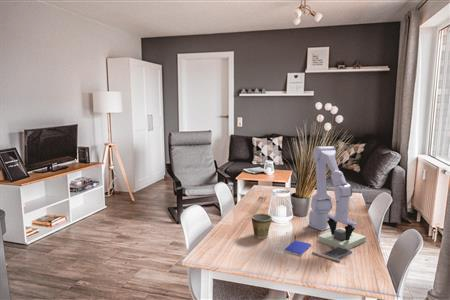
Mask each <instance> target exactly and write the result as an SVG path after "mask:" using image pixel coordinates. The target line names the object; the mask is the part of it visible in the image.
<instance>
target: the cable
mask: <svg viewBox="0 0 450 300" xmlns="http://www.w3.org/2000/svg"><path fill="white" fill-rule="evenodd" d="M311 253H312V254H313V255H316V256H319V257H322V258H325V259H329V260H333V261H334V262H336V263H341V258H340V259H337V258H333V257H330V256H327V255H325V254H323V253H319V252H317V251H312V252H311Z"/></svg>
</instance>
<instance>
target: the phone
mask: <svg viewBox="0 0 450 300" xmlns="http://www.w3.org/2000/svg"><path fill="white" fill-rule="evenodd" d="M350 254H352V250H350V249H342V248H340V247H337V248H335V247H334V248H333V249H331V250H328V251H325V252H324V255H327V256H330V257H333V258H337V259H340V260H341V258H344V257H346V256H348V255H350Z"/></svg>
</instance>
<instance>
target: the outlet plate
mask: <svg viewBox="0 0 450 300" xmlns="http://www.w3.org/2000/svg"><path fill="white" fill-rule="evenodd" d="M337 229H342V230H345V228H344V227H338V228H336V230H337ZM317 237H318V241H319V243H323V244H325V245H327V246H329V247H333V248H334V249H335V248H337V247H340V248H342V249H348V250H350V249H352V248H355V247H357V246H358V245H361V244H363V243H365V242H366V240H367V236H365V235H362V234H360V233H357V232H354V231H353V232H352V234H351V236H350V239H349V240H348V241H346V240H345V241H343V242H341V241H339V240H336V239H334V235H332V234H331V230H330V231H327V232H325V233H324V232H323V233H322V234H320V235H318V236H317Z"/></svg>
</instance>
